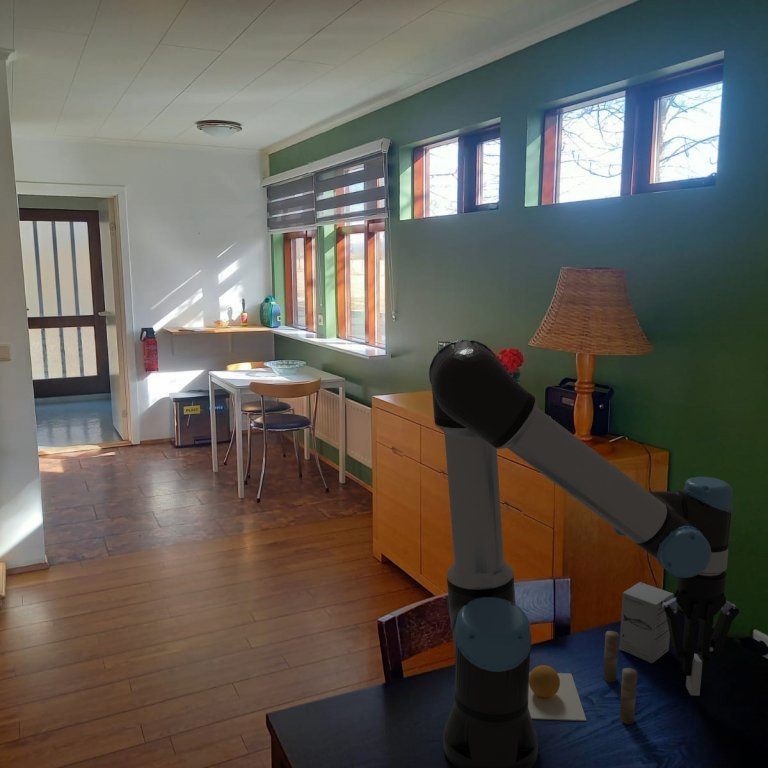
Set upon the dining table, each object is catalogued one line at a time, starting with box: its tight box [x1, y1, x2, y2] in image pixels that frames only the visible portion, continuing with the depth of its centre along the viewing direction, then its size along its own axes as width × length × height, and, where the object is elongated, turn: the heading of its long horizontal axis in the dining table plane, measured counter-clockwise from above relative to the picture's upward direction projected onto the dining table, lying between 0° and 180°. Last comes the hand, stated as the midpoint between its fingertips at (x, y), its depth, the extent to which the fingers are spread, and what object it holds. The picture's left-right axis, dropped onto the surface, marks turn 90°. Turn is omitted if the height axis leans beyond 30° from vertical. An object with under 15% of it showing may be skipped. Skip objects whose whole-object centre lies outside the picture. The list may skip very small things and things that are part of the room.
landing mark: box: [528, 671, 587, 722], centre depth 134 cm, size 14×14×1 cm
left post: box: [602, 630, 620, 683], centre depth 138 cm, size 2×2×9 cm
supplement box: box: [618, 581, 675, 664], centre depth 148 cm, size 7×7×13 cm
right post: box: [619, 667, 638, 725], centre depth 126 cm, size 2×2×9 cm
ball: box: [529, 664, 560, 698], centre depth 134 cm, size 6×6×6 cm
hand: (692, 690), depth 132 cm, fingers closed
